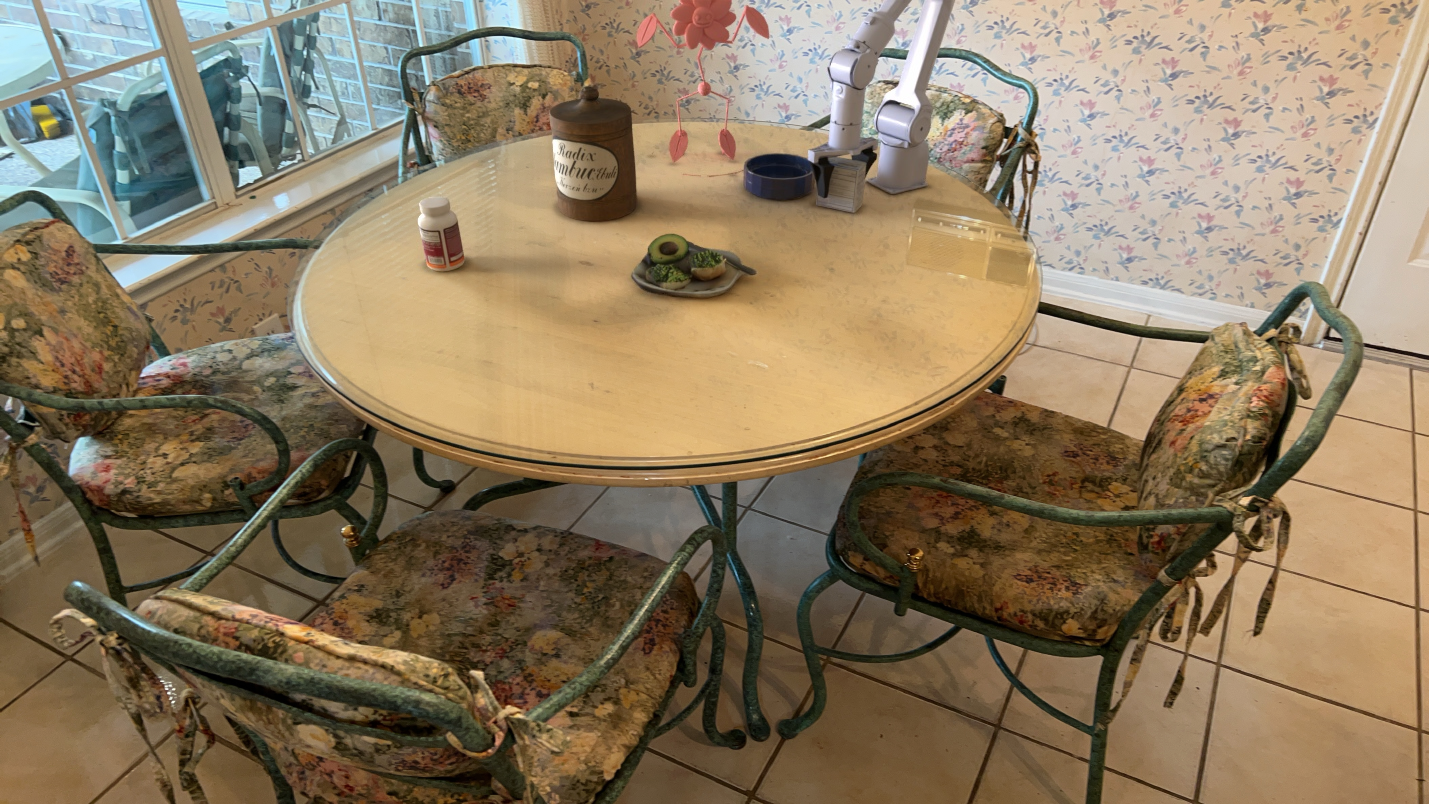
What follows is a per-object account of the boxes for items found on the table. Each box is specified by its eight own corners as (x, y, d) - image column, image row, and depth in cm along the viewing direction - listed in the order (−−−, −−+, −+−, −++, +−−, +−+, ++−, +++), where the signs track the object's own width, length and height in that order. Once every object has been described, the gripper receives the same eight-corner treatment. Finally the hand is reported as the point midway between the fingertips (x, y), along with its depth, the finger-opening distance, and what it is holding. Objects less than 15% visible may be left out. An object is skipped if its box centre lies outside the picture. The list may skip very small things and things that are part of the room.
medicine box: (862, 206, 171) (867, 161, 166) (854, 214, 168) (859, 169, 163) (824, 198, 174) (827, 154, 169) (815, 206, 171) (818, 161, 166)
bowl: (788, 170, 186) (789, 148, 184) (828, 193, 176) (830, 171, 174) (730, 182, 180) (730, 160, 178) (768, 207, 171) (769, 184, 168)
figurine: (641, 153, 194) (634, -24, 174) (760, 151, 195) (767, -25, 175) (641, 180, 181) (634, -8, 161) (769, 177, 183) (777, -9, 163)
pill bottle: (460, 253, 153) (450, 191, 147) (469, 268, 149) (458, 205, 143) (423, 260, 151) (411, 197, 145) (430, 275, 147) (418, 212, 140)
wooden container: (543, 214, 167) (530, 94, 154) (582, 186, 178) (573, 72, 165) (614, 227, 162) (607, 104, 150) (650, 198, 174) (646, 81, 161)
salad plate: (768, 261, 152) (769, 235, 149) (739, 310, 138) (739, 283, 135) (660, 245, 157) (660, 220, 154) (621, 292, 143) (620, 265, 140)
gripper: (826, 133, 156) (820, 207, 164) (892, 120, 162) (883, 192, 170) (803, 121, 161) (798, 194, 169) (867, 110, 167) (860, 180, 175)
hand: (839, 192), depth 170 cm, fingers closed on medicine box, 7 cm apart
